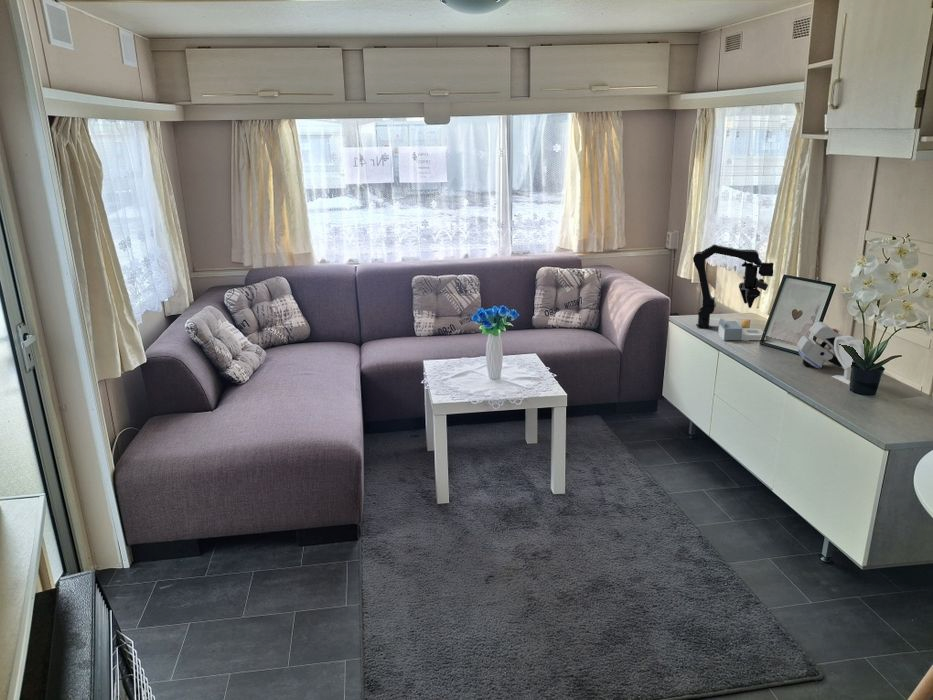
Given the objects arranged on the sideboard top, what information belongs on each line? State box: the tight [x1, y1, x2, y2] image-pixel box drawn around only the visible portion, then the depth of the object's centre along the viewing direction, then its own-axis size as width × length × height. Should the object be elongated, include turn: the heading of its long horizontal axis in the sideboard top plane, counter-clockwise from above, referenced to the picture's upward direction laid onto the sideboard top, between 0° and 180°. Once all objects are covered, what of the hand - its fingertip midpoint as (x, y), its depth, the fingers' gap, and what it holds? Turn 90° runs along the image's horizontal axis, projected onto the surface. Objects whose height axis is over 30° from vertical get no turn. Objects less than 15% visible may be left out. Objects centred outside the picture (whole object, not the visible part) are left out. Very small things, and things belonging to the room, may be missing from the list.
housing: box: [717, 323, 764, 341], centre depth 352 cm, size 12×20×5 cm, turn 83°
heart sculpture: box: [831, 335, 865, 386], centre depth 289 cm, size 16×5×18 cm, turn 12°
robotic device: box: [796, 321, 845, 370], centre depth 307 cm, size 10×21×20 cm
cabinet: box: [717, 317, 742, 341], centre depth 352 cm, size 14×8×8 cm, turn 173°
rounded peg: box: [740, 319, 751, 328], centre depth 365 cm, size 4×4×5 cm
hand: (747, 305), depth 362 cm, fingers open, 9 cm apart
